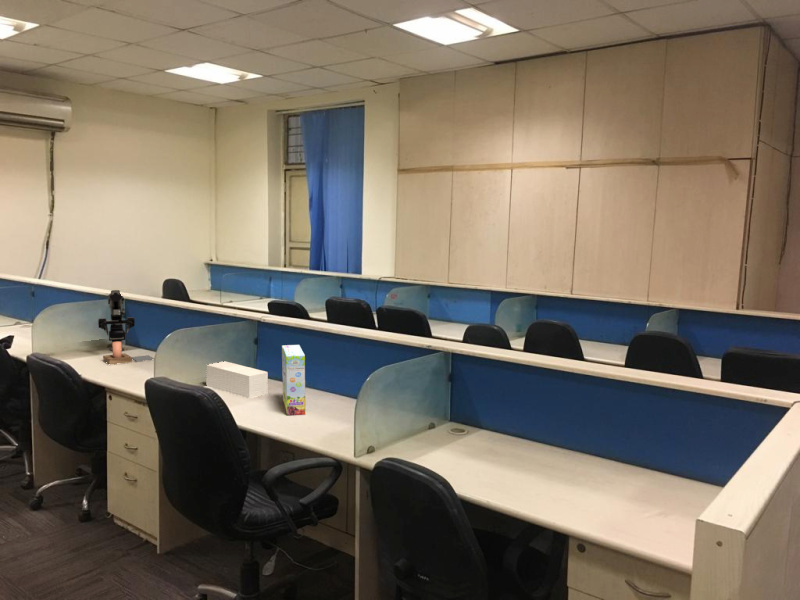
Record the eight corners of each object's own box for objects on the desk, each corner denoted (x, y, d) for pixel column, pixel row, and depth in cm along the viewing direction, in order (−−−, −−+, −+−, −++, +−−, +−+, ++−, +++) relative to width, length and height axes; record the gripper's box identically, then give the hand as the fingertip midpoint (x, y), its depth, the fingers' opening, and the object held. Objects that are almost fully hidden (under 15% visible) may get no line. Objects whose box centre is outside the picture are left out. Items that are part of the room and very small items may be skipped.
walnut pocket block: (103, 361, 349) (103, 355, 348) (125, 358, 356) (124, 353, 356) (109, 365, 340) (109, 359, 340) (131, 362, 347) (131, 357, 347)
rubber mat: (130, 358, 356) (130, 357, 356) (148, 356, 363) (148, 355, 362) (136, 361, 349) (136, 360, 348) (154, 359, 355) (154, 358, 355)
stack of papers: (206, 386, 304) (206, 364, 302) (224, 382, 312) (224, 361, 311) (249, 399, 285) (249, 376, 283) (267, 394, 293) (267, 371, 292)
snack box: (280, 401, 282) (281, 344, 279) (300, 400, 284) (300, 344, 281) (285, 416, 261) (285, 355, 258) (306, 415, 264) (306, 354, 260)
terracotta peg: (111, 361, 348) (111, 341, 347) (120, 360, 351) (119, 341, 350) (114, 363, 345) (113, 343, 343) (123, 362, 348) (122, 342, 346)
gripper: (97, 304, 352) (98, 327, 344) (134, 303, 360) (135, 325, 352) (98, 316, 360) (98, 338, 352) (133, 315, 368) (135, 337, 360)
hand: (117, 334), depth 354 cm, fingers open, 9 cm apart
